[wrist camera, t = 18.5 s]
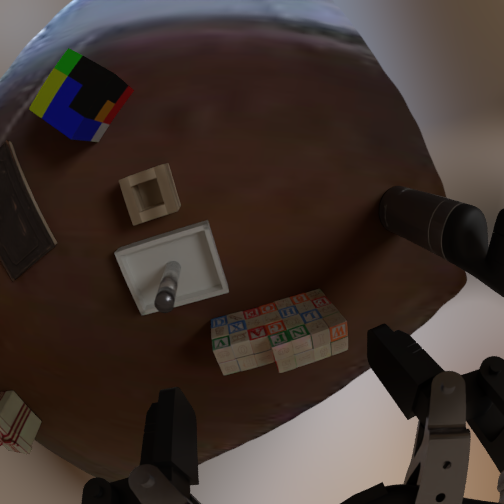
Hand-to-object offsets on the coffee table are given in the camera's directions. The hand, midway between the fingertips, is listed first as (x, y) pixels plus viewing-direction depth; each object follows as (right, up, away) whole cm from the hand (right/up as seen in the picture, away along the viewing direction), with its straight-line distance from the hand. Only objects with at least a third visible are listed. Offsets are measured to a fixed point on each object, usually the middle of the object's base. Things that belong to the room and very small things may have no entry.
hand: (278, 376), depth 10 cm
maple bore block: (-16, +15, +31) cm, 38 cm away
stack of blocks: (+2, -7, +42) cm, 42 cm away
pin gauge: (-14, +2, +35) cm, 38 cm away
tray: (-14, +2, +35) cm, 38 cm away
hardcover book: (-48, +13, +27) cm, 56 cm away
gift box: (-78, -44, +41) cm, 98 cm away
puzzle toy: (-27, +29, +24) cm, 46 cm away
